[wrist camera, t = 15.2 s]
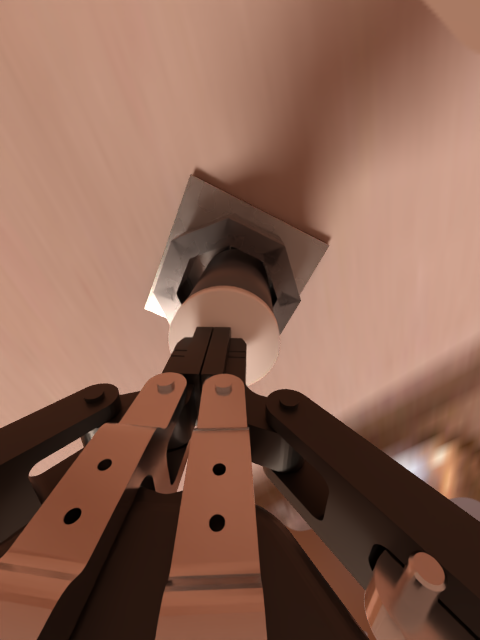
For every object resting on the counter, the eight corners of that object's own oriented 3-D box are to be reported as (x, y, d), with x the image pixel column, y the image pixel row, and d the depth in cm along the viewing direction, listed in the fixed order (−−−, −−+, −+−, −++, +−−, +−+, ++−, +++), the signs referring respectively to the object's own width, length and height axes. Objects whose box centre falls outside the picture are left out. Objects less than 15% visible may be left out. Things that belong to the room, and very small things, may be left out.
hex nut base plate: (146, 306, 24) (124, 330, 20) (192, 174, 19) (175, 170, 15) (261, 355, 25) (263, 386, 21) (327, 244, 21) (345, 257, 17)
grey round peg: (193, 295, 23) (154, 365, 14) (218, 235, 21) (191, 271, 11) (250, 321, 23) (249, 403, 14) (280, 265, 21) (301, 321, 12)
